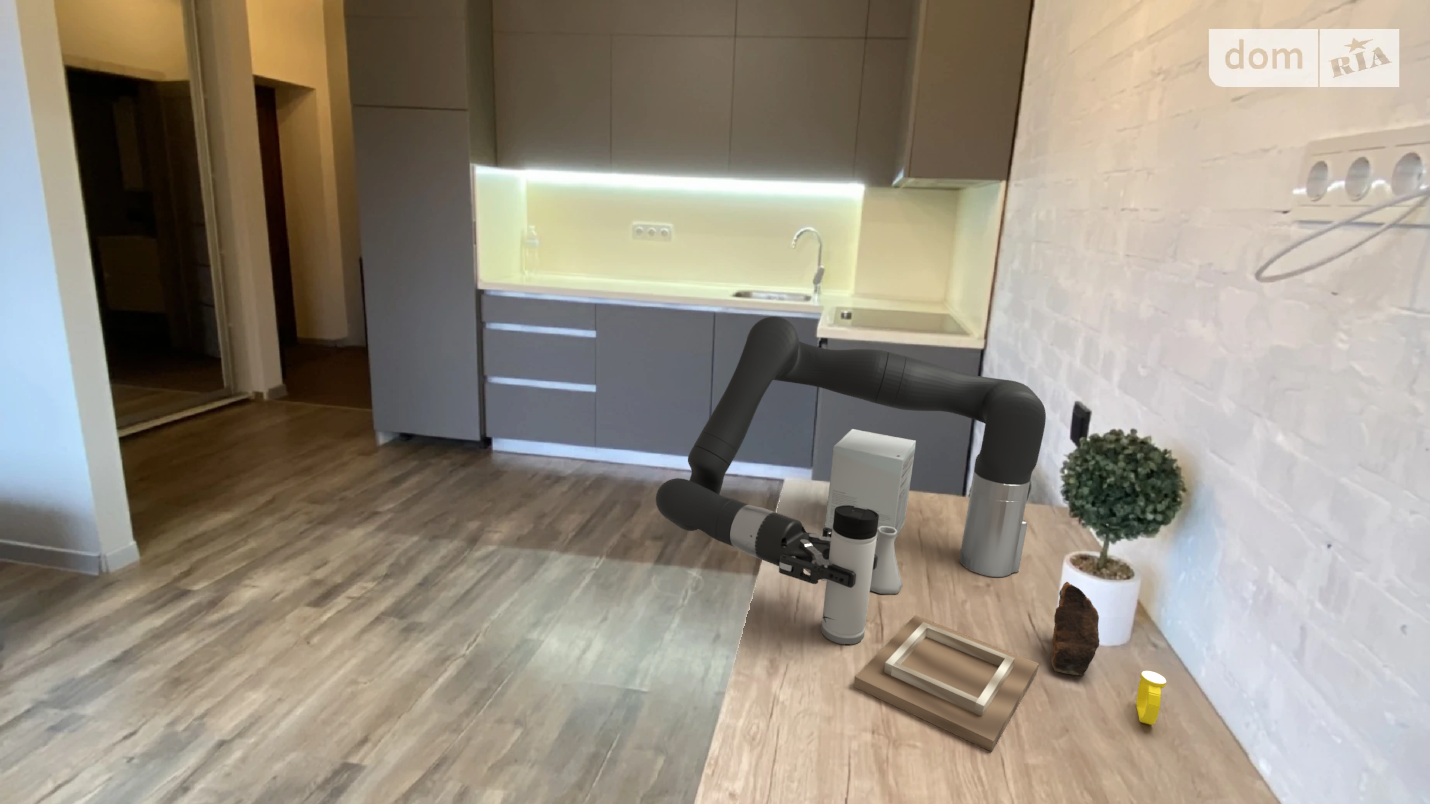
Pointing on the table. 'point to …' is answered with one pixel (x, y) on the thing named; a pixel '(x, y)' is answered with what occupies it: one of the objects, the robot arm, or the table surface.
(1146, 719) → the watch
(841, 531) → the travel mug
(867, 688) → the wooden square tray
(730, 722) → the table surface
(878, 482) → the supplement box
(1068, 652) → the decorative rock
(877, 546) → the flask
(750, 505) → the robot arm
